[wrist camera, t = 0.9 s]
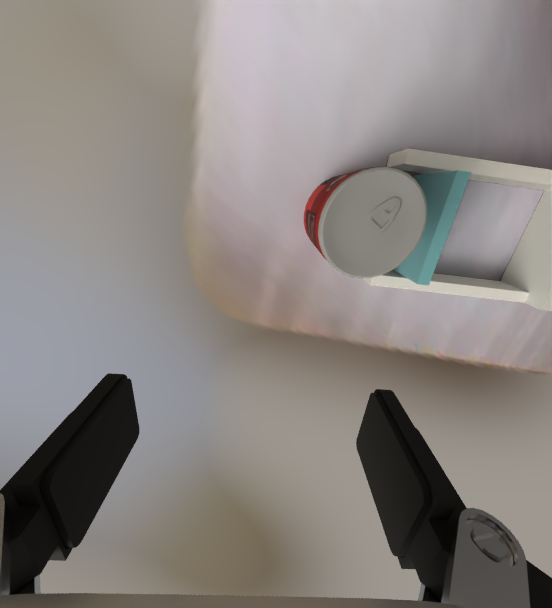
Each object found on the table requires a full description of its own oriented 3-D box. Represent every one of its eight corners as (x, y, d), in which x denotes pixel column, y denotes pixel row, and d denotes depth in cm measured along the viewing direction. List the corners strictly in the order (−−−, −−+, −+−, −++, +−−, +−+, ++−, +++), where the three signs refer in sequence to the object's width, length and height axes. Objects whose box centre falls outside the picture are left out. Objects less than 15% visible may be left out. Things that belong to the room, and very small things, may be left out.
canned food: (386, 193, 28) (451, 194, 18) (350, 260, 31) (388, 294, 21) (323, 162, 27) (354, 143, 16) (291, 235, 29) (301, 257, 19)
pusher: (413, 175, 27) (457, 170, 20) (423, 177, 27) (471, 172, 21) (386, 264, 31) (416, 284, 24) (395, 265, 31) (428, 285, 24)
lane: (389, 154, 26) (420, 144, 21) (561, 179, 28) (633, 176, 22) (358, 274, 31) (376, 291, 26) (504, 291, 33) (551, 311, 27)
